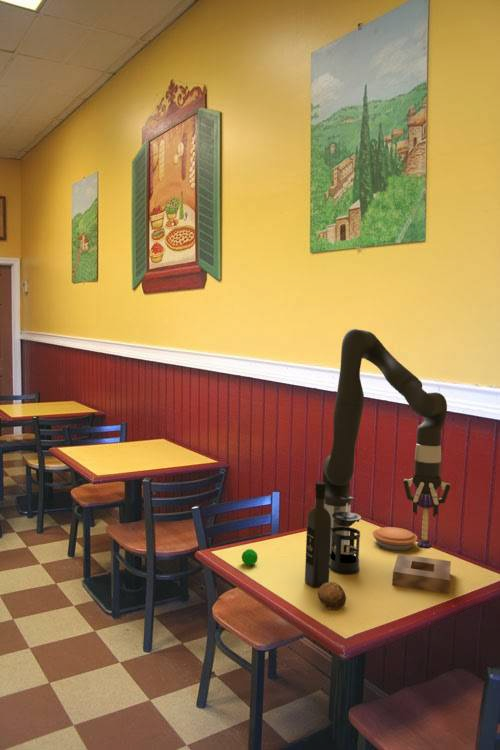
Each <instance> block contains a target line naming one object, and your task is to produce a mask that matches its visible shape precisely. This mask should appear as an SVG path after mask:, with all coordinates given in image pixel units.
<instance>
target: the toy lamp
mask: <svg viewBox="0 0 500 750" xmlns="http://www.w3.org/2000/svg"><path fill="white" fill-rule="evenodd" d="M433 505H434V500H433V497H432V494H430V493H427V492H426V493H420V496H419V498H418V507H420V508H422V517H421V518H422V521H421V523H422V526H421V539H420V540H419V541H417V544H416V545H417V547H418V548H420V549H425V550H427V549H431V548H432V547H433V545H432V542H431V541H429V540H428V534H429V532H428V530H429V515H430V514H429V513H430V512H429V511H430V509H432V508H433Z"/></svg>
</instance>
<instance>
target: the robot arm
mask: <svg viewBox="0 0 500 750" xmlns="http://www.w3.org/2000/svg"><path fill="white" fill-rule="evenodd" d="M362 359H363V360H366V361H368V362H370V363H372V364H373V365H374V366H375V367H377V368H378V369H379V371H380V372H381V374H382V375H383V377H384V378H385V379H386V381H387V383H389V385H390V386H391V387H392V388H394V389H395V391H397V392H398V393H399V394H400V395H401V396H402V397H403V398H404V400H405V401H406V403H407V404H408V405H409V406H410V408H411V409H412V410H413V411H414V413H416V414H417V415H419V416H420V417H422V418H423V422H422V423H421V424H420V425H418V426H417V429H416V444H415V451H414V453H415V454H414V469H413V470H414V474H413V476H412V478H404V479H403V485H404V490H405V493H406V494H405V495H406V498H407V500H409V501H412V512H413V513H414V515H418V510H419V506H418V501H419V497H420V494H421V493H426V492H427V493H430V494H431V495H432V499H433V504H434V505H433V507H432V508H433V509H432V511H433V512H432V517H434V518H435V517H436V516H438V515H439V505H441V504H445V503H446V500H447V497H448V495H449V492H450V489H451V483H449V482H444V481H442V479H441V466H442V465H441V464H442V445H441V444H442V430H443V427H444V423H445V421H446V416H447V412H448V404H447V400H446V397H445V396H444V395H443V394H441V392H426V391H425V390H424V389H423V383H422V381H421V380H420V379H419V378H418V377H417V376H416V375H415V374H414V373H412V372H411V371H410V370H409V369H408V368H406V367H405V366H404V365H403V364H402V363H400V361H398V360H397V358H395V357H394V356H393V355H392V353H390V352H389V351H388V349H387V348H386V347H385V346H384V345H383V343H382V342H381V341H380V340H379V338H378V337H377V336H376V335H375V333H373V332H371V331H368V330H364V329H358V328H352V329H350V330H348V331H347V332H345V334H344V336H343V339H342V342H341V353H340V369H339V376H338V382H337V383H338V385H337V391H336V397H335V402H334V408H333V415H332V417H333V418H332V419H333V420H332V421H333V422H332V425H333V426H332V427H333V433H332V434H333V439H332V440H333V441H332V446H331V447H332V448H331V452H330V455H328V456H327V457H326V458H325V460H324V462H323V466H322V482H324V483H326V491H325V508H326V509H327V511H328V512H329V514H330V516H331V527H332V528H335V527H345V526H340V525H337V524H335V523H334V522H333V517H332V514H333V513H336V512H346V504H347V503H346V500H344V499H341V496H351V497H352V495H351V487H350V486H351V484H350V483H351V480H352V478H353V475H354V471H355V469H354V468H355V452H356V451H355V450H356V445H357V439H358V435H359V432H360V426H361V421H362V417H363V416H362V415H363V409H364V404H365V394H364V390H363V385H362V382H361V381H362V380H361V366H362V361H363V360H362ZM412 484H413V485H414V486H415V488H416V491H415V494H414V495H413V494H412V491H411V488H410V487H411V486H412ZM439 487H442V488H441V489H442V490H443V492H442V496H441V497H440V498H439V495H438V493H437V490H438V489H439ZM351 501H352V500H349V503H348V507H347V512H351ZM348 527H351V526H348ZM335 533H336V534H339V535H344V536H345V531H336V532H335ZM346 536H350V531H346ZM341 544H345V540H342V539H341ZM346 544H348V545H349V540H346ZM331 545H332V535H331V541H330V553H331ZM335 545H336V538H335ZM334 554H336V553H335V552H334Z"/></svg>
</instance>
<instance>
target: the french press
mask: <svg viewBox="0 0 500 750" xmlns="http://www.w3.org/2000/svg"><path fill="white" fill-rule="evenodd" d="M341 499H344V500H346V503H347V504H346V512H336V513H333V514H332V517H333V522H334V523H335V524H337V525H340V526H345V527H335V528H332V527H331V535H332V545H331V553H330V565H329V571H332V572H334V573H337V574H340V575H341V574H342V575H354V573H355V574H357V573H359V572H360V558H359V557H360V538H361V531H360V530H359V529H357V528H354V527H351V526H353V525H354V524H355V523H356V522H357V523H359V522H360V520H362V519H361V518H362V516H361V515H360V514H358V513H355V512H351V511H350V512H347V507H348V503H349V500H351V501H352V500H355V498H354V497H353V496H352V495H351V496H341ZM348 526H350V527H348ZM336 531H345V536H344V535H339V534H336V533H335V532H336ZM346 531H349V536H346ZM335 538H336V545H335ZM341 539H342V540H345V544H341ZM346 540H349V545H348V544H346ZM355 541H356V544H355ZM334 552H335V553H336V554H334Z"/></svg>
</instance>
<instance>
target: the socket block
mask: <svg viewBox="0 0 500 750" xmlns="http://www.w3.org/2000/svg"><path fill="white" fill-rule="evenodd" d="M451 566H452V564H451V560H444V559H437V558H430V557H423V556H418V555H416V556H415V555H410V554H402V553H398V554H397V557H396V560H395V563H394V567H393V570H392V584H391V585H392V586H397V587H404V588H409V589H411V588H412V589H417V590H423V591H427V592H428V591H430V592H435V593H442V594H448V595H449V594H450V586H451V585H450V583H451Z"/></svg>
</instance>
